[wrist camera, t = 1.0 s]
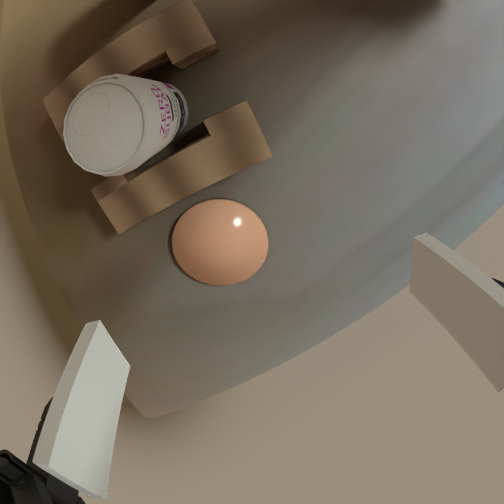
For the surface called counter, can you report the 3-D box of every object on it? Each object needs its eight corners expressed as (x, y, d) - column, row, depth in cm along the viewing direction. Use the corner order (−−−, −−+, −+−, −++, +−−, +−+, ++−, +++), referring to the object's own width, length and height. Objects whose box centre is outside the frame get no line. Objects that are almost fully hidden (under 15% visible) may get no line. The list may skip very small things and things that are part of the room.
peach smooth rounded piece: (242, 181, 34) (242, 183, 34) (281, 261, 40) (282, 264, 40) (155, 224, 36) (153, 227, 36) (202, 293, 43) (202, 297, 42)
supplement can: (112, 116, 29) (41, 134, 16) (160, 69, 26) (107, 51, 13) (153, 160, 32) (103, 203, 19) (203, 115, 30) (178, 126, 17)
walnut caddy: (196, 10, 23) (189, -3, 18) (267, 148, 32) (273, 156, 28) (63, 97, 26) (42, 100, 22) (131, 217, 36) (118, 234, 31)
